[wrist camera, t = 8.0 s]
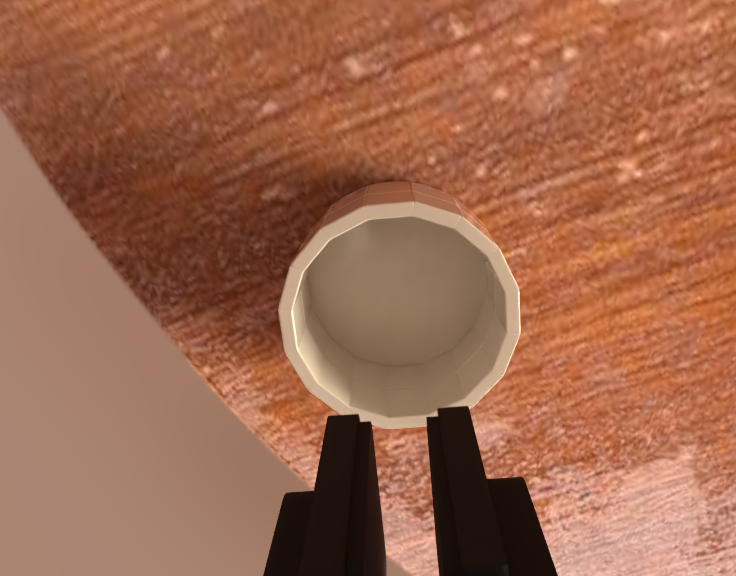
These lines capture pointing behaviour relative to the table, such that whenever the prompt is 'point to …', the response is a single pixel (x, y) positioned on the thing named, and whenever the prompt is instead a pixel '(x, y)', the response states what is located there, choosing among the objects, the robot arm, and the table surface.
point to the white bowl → (399, 306)
